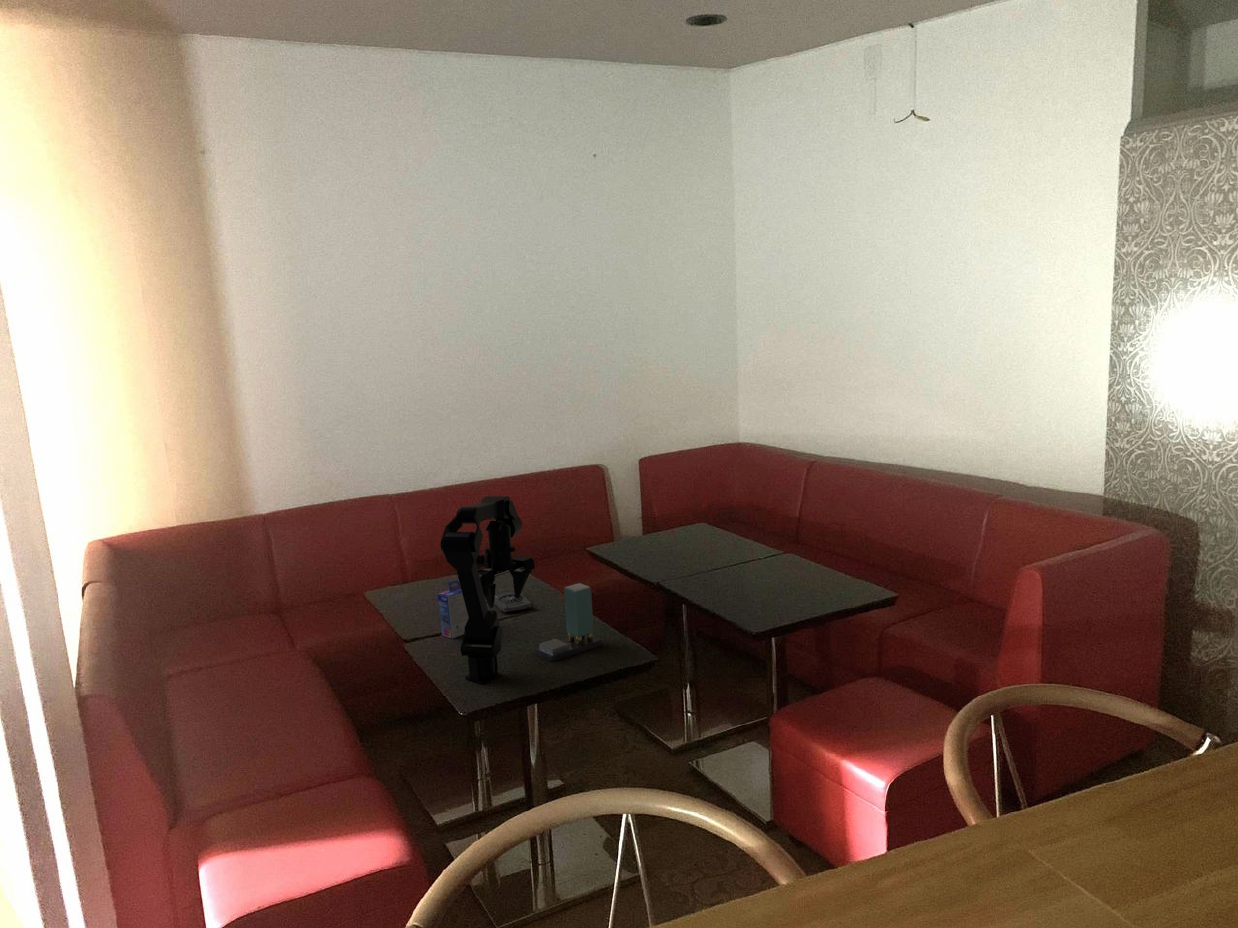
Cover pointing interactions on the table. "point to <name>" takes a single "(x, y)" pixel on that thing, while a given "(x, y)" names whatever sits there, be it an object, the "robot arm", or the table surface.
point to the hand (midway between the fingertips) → (504, 602)
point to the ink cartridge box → (452, 611)
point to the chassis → (566, 646)
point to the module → (578, 610)
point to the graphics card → (510, 601)
